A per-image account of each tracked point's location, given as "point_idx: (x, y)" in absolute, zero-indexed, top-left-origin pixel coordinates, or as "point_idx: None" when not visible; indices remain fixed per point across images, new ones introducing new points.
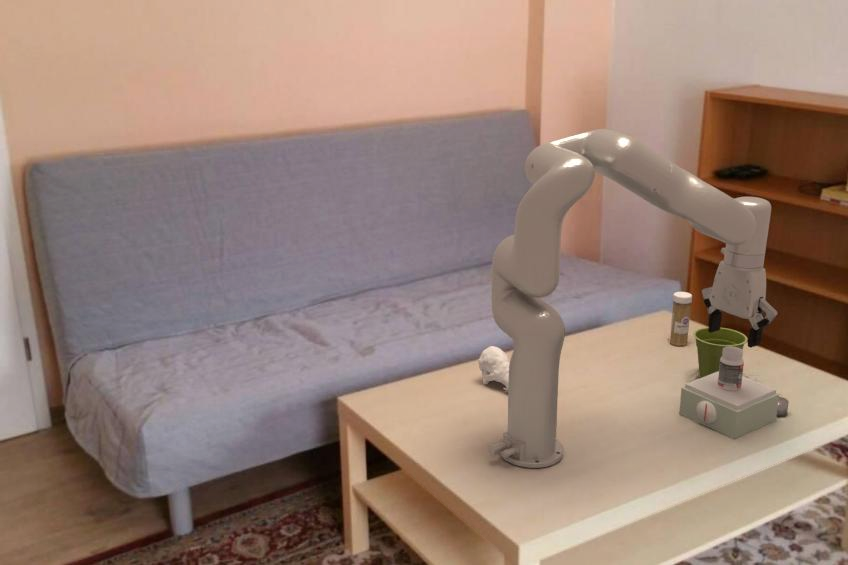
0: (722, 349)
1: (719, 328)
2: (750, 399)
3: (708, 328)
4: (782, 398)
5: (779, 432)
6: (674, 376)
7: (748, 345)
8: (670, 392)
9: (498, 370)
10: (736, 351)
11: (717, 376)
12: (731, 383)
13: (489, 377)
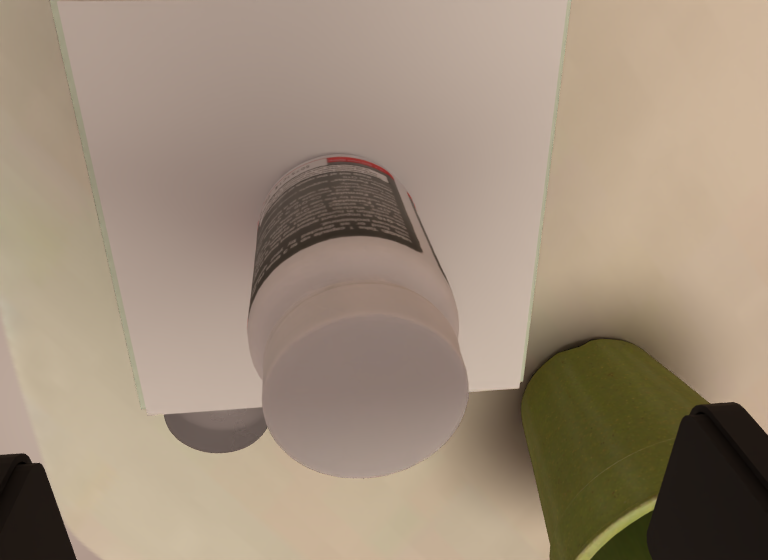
0: (617, 498)
1: (657, 552)
2: (107, 184)
3: (761, 432)
4: (221, 444)
5: (59, 237)
6: (750, 289)
7: (4, 464)
8: (683, 138)
9: None
10: (317, 403)
11: (484, 283)
12: (277, 198)
13: None
